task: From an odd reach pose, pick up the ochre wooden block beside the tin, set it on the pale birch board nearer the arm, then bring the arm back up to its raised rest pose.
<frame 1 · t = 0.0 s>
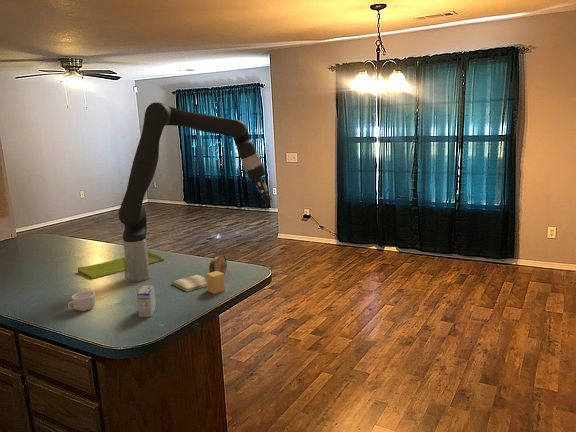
hand: (268, 202, 192), 31 cm above the countertop, tool tilted 20°, fingers open, 8 cm apart
dish towel: (122, 267, 214), on the countertop
medicine box: (147, 313, 161), on the countertop
tin: (218, 276, 198), on the countertop
ochre block: (216, 290, 181), on the countertop
teacup: (82, 310, 165), on the countertop
birch board: (192, 284, 188), on the countertop
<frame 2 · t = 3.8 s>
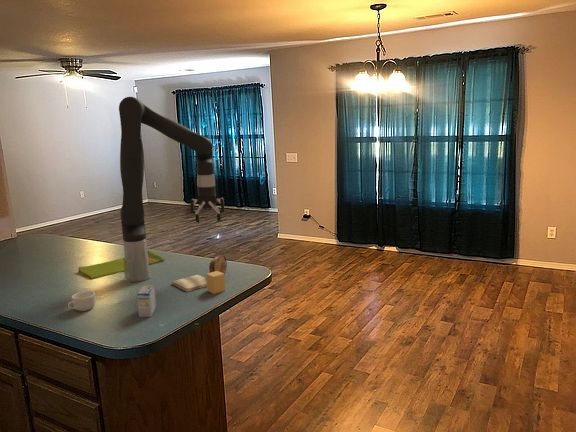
hand: (208, 222, 198), 23 cm above the countertop, tool pointing down, fingers open, 8 cm apart
nothing on the countertop moved.
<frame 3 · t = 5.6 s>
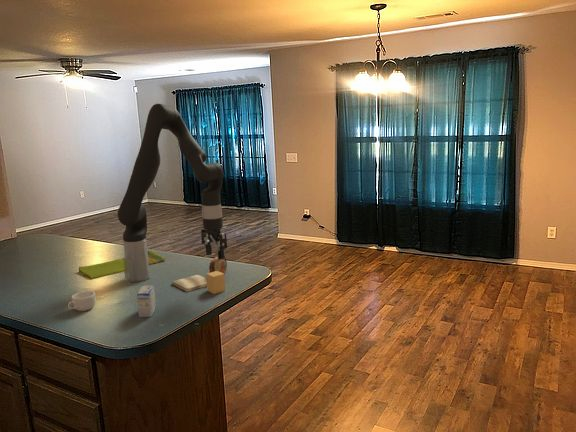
hand: (215, 257, 178), 14 cm above the countertop, tool pointing down, fingers open, 8 cm apart
nothing on the countertop moved.
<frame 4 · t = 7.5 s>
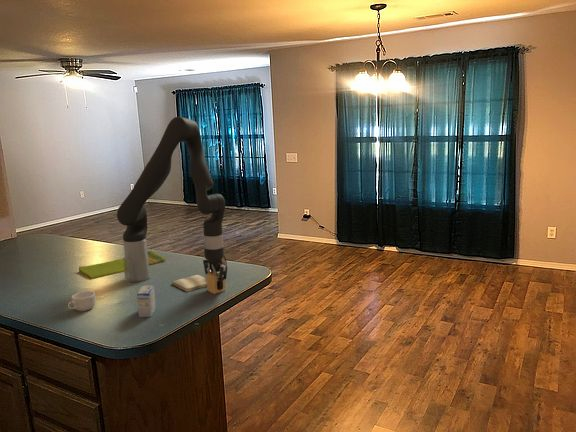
hand: (216, 287, 180), 1 cm above the countertop, tool pointing down, fingers closed on ochre block, 5 cm apart
ochre block: (216, 290, 181), on the countertop, touching gripper
everything else where it was.
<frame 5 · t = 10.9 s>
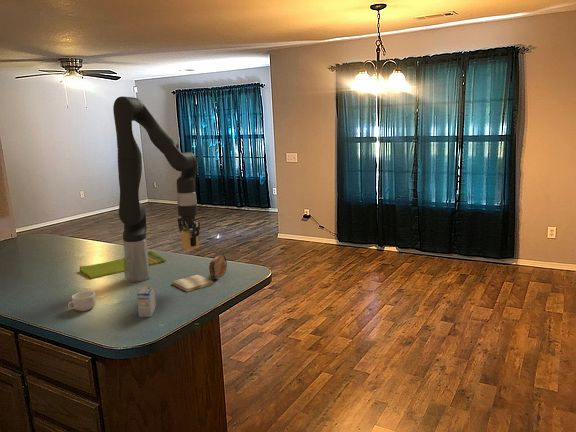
hand: (189, 244, 185), 17 cm above the countertop, tool pointing down, fingers closed on ochre block, 5 cm apart
ochre block: (190, 247, 185), point 15 cm above the countertop, touching gripper
when the fingers open (4 cm above the countertop, at t = 14.0 s): ochre block drops 1 cm, resting on birch board.
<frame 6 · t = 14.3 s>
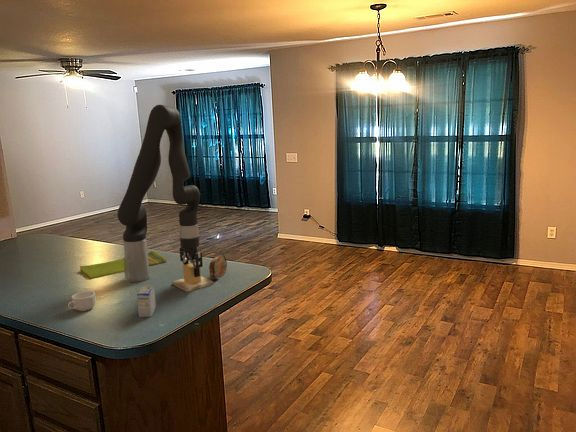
hand: (192, 274, 187), 4 cm above the countertop, tool pointing down, fingers open, 7 cm apart
ochre block: (192, 281, 188), point 1 cm above the countertop, touching birch board
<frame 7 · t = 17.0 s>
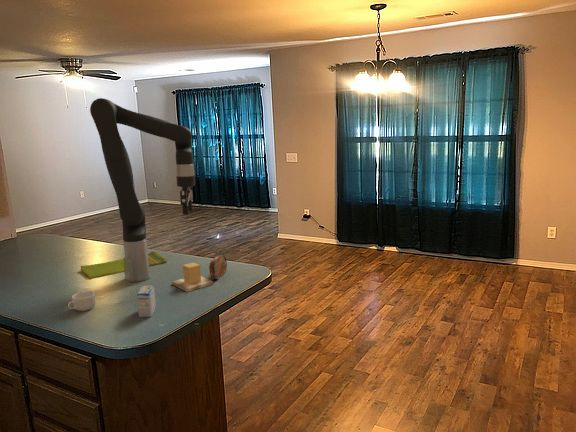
hand: (187, 212, 196), 27 cm above the countertop, tool pointing down, fingers open, 8 cm apart
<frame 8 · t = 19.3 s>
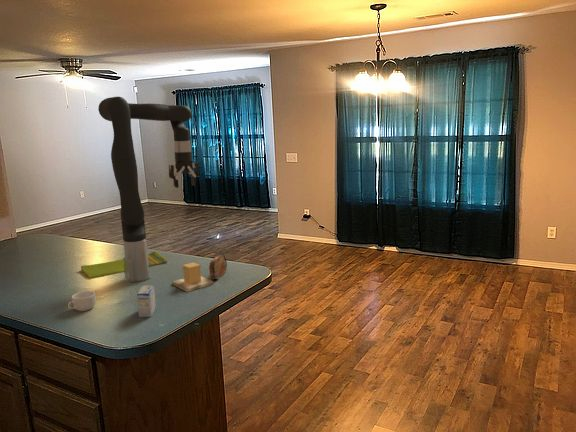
hand: (185, 186, 211), 36 cm above the countertop, tool pointing down, fingers open, 8 cm apart
at the end: ochre block inside the target area on the birch board (0.0 cm from its centre), point 1.2 cm above the birch board's base; ochre block tilted 0°; the gripper is holding nothing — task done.
